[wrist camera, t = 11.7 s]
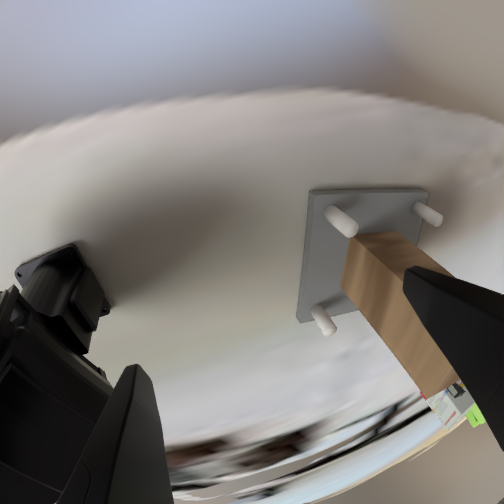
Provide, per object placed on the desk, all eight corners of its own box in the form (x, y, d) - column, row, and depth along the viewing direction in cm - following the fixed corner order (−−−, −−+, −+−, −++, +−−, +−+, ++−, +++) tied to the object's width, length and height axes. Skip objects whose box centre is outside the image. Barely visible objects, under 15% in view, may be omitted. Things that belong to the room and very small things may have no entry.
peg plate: (296, 316, 27) (312, 346, 24) (309, 191, 21) (335, 210, 18) (395, 293, 30) (416, 315, 26) (421, 189, 24) (451, 205, 20)
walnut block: (339, 286, 25) (426, 399, 14) (350, 234, 23) (464, 344, 12) (382, 278, 26) (470, 373, 15) (395, 231, 24) (503, 320, 13)
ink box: (435, 382, 51) (462, 419, 41) (418, 393, 50) (446, 432, 40) (446, 360, 46) (478, 400, 36) (428, 372, 46) (461, 414, 36)
